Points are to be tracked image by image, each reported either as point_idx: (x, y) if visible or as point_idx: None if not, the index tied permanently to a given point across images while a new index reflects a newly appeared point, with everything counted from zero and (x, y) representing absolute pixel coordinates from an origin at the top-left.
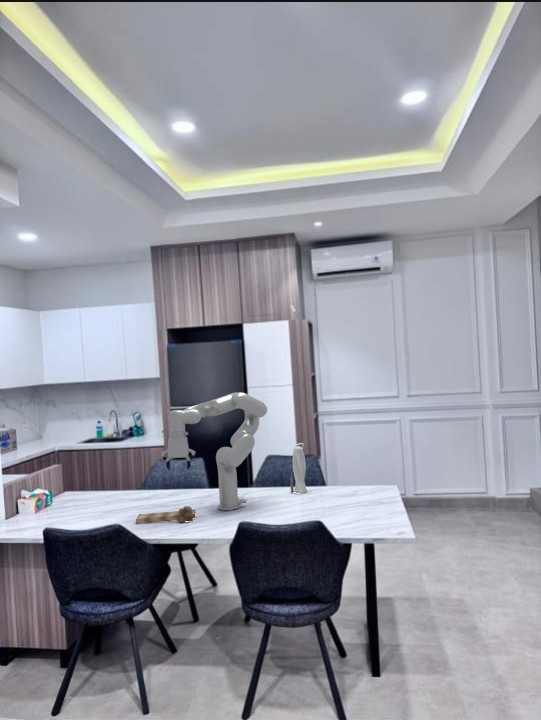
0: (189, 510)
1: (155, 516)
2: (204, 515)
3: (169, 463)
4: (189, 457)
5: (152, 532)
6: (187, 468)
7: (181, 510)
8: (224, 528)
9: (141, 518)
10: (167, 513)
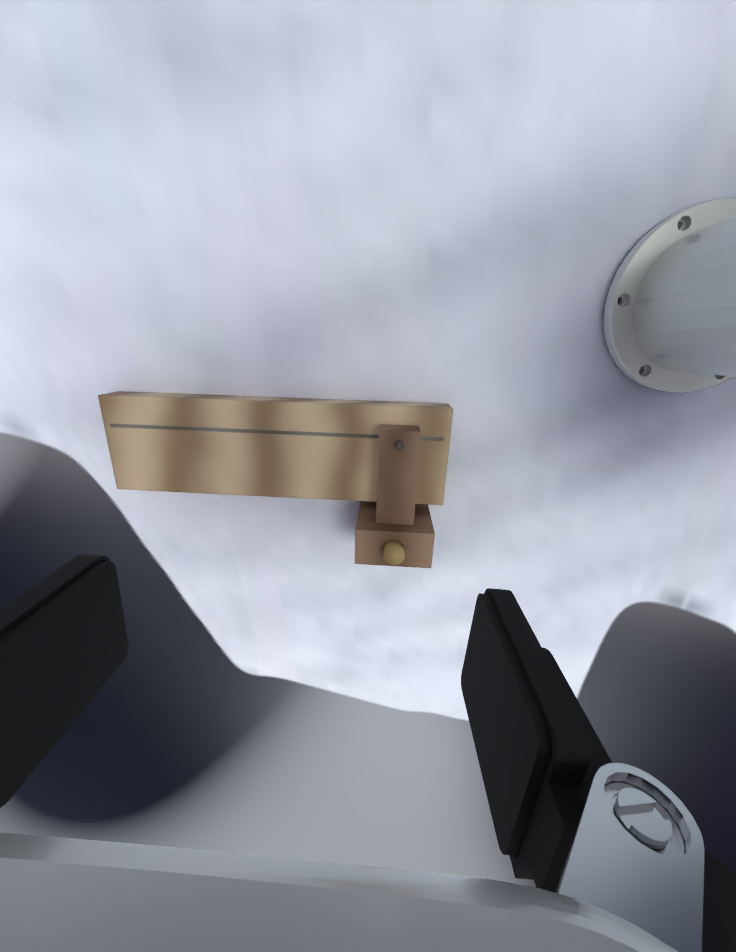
0: (418, 564)
1: (218, 478)
2: (498, 439)
3: (21, 708)
4: (673, 922)
5: (252, 618)
6: (468, 688)
7: (370, 562)
8: (562, 662)
9: (145, 489)
10: (278, 439)
